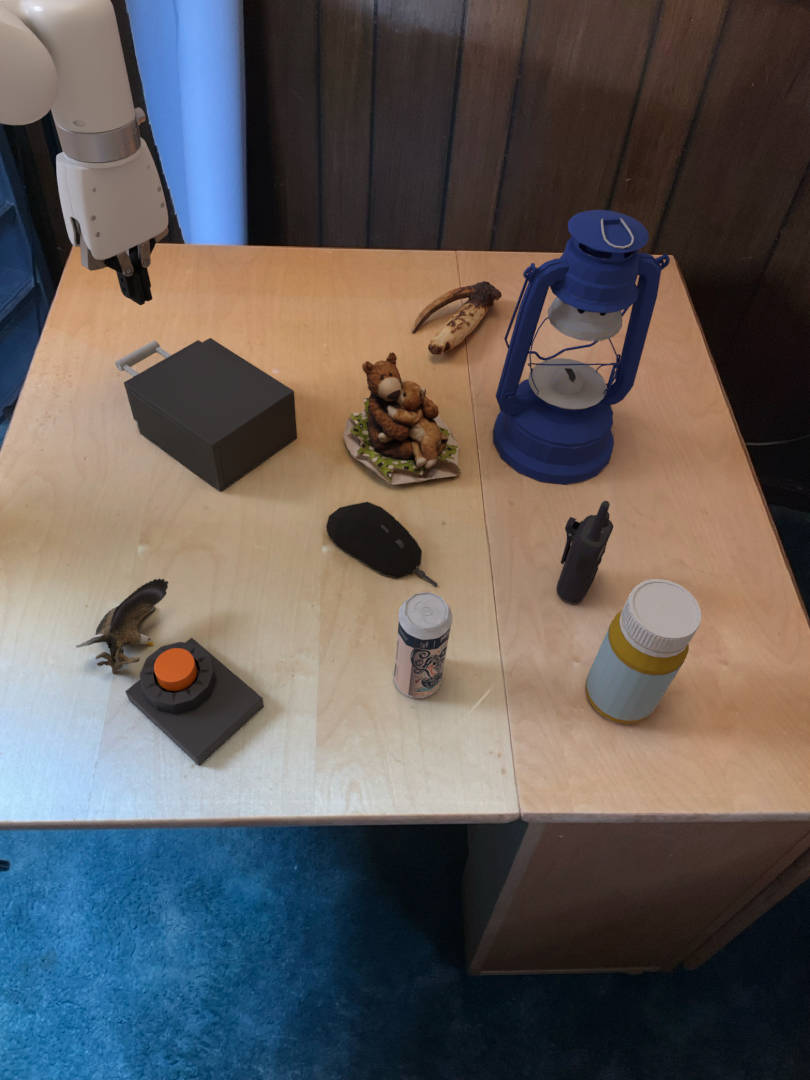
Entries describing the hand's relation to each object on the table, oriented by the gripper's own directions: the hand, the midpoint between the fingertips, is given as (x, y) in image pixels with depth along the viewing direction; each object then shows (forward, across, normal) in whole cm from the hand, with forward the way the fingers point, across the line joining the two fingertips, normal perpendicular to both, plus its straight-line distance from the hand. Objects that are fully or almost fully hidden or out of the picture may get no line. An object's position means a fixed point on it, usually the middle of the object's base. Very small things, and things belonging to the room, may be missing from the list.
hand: (138, 297), depth 93 cm
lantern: (+15, -28, +42) cm, 53 cm away
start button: (+11, +26, +35) cm, 45 cm away
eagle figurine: (+14, +26, +27) cm, 40 cm away
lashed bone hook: (+15, -38, +18) cm, 44 cm away
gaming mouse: (+15, 0, +38) cm, 41 cm away
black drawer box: (+14, 0, +11) cm, 18 cm away
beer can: (+14, +10, +51) cm, 54 cm away
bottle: (+15, -2, +67) cm, 69 cm away
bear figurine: (+15, -14, +29) cm, 35 cm away
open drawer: (+13, 0, +6) cm, 15 cm away
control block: (+14, +26, +37) cm, 48 cm away
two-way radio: (+15, -10, +56) cm, 59 cm away
